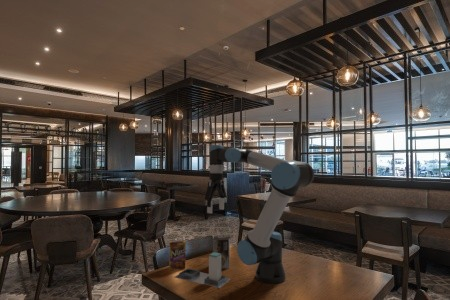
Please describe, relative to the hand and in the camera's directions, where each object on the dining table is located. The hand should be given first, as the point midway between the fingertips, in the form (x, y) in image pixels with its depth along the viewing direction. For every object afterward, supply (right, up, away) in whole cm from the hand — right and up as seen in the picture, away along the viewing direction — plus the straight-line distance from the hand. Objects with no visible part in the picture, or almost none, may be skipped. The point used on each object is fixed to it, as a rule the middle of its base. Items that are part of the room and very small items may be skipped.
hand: (215, 211), depth 156 cm
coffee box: (+3, -32, +2) cm, 32 cm away
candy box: (-21, -32, -1) cm, 38 cm away
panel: (-7, -31, -14) cm, 35 cm away
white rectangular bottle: (0, -30, -17) cm, 35 cm away
